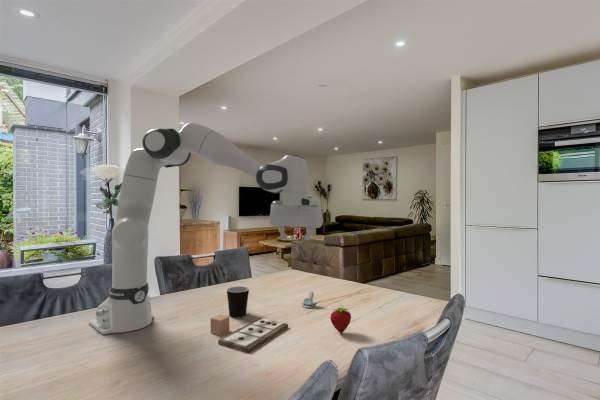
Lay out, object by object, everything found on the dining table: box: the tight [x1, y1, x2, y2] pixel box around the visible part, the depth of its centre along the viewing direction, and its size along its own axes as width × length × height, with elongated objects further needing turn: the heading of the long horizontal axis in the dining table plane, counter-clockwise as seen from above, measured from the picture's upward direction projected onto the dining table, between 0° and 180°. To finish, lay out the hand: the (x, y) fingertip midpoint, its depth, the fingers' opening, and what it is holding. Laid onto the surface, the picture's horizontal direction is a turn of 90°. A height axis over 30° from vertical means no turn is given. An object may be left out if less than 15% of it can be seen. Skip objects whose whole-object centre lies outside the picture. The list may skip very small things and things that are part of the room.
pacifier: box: [301, 291, 318, 309], centre depth 134 cm, size 7×6×6 cm
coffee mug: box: [226, 285, 250, 319], centre depth 125 cm, size 12×9×10 cm
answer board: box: [218, 317, 289, 354], centre depth 105 cm, size 12×22×2 cm, turn 151°
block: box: [210, 313, 230, 337], centre depth 107 cm, size 4×4×5 cm
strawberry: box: [329, 302, 352, 334], centre depth 107 cm, size 6×8×10 cm
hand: (295, 239), depth 111 cm, fingers open, 8 cm apart
